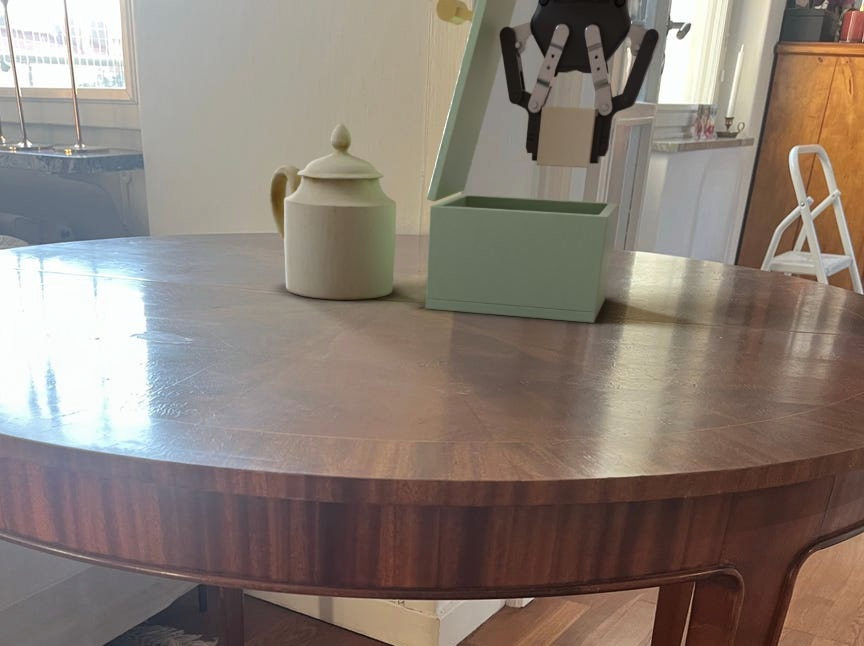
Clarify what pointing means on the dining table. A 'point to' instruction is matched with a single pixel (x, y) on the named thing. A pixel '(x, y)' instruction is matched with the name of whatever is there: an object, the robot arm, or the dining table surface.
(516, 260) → the chest
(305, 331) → the dining table surface
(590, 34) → the robot arm
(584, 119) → the block
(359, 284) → the sugar bowl
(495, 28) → the chest lid
